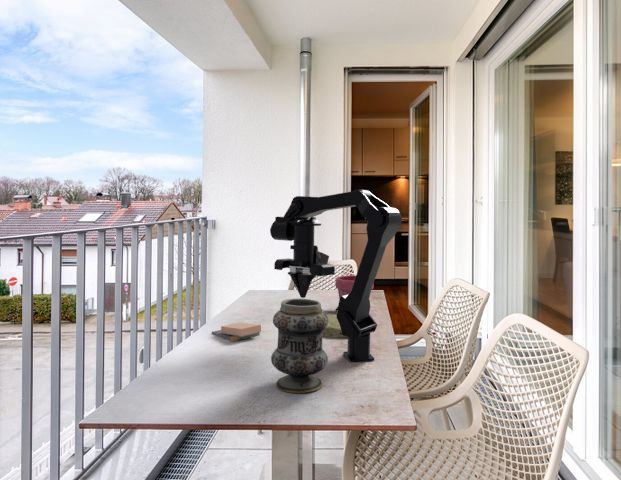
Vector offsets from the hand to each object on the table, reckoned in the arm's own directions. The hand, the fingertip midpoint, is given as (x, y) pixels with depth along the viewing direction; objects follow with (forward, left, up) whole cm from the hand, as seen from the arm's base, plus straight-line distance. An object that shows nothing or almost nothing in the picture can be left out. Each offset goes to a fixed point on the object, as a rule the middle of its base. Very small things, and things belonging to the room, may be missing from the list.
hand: (303, 297), depth 124 cm
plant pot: (+36, -26, -13) cm, 46 cm away
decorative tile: (+14, -12, -14) cm, 23 cm away
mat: (+12, +19, -13) cm, 26 cm away
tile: (+5, +14, -10) cm, 18 cm away
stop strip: (+8, +16, -13) cm, 22 cm away
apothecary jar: (-29, +6, -13) cm, 32 cm away
